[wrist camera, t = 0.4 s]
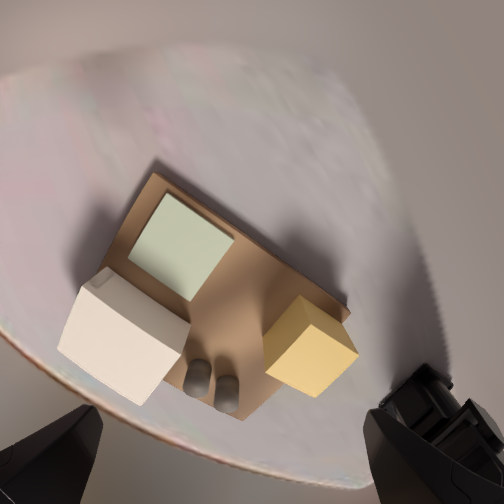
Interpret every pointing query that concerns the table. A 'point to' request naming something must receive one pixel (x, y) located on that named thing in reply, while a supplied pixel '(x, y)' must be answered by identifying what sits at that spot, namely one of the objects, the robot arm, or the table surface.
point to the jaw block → (307, 348)
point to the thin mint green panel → (179, 247)
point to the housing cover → (122, 336)
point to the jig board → (220, 307)
